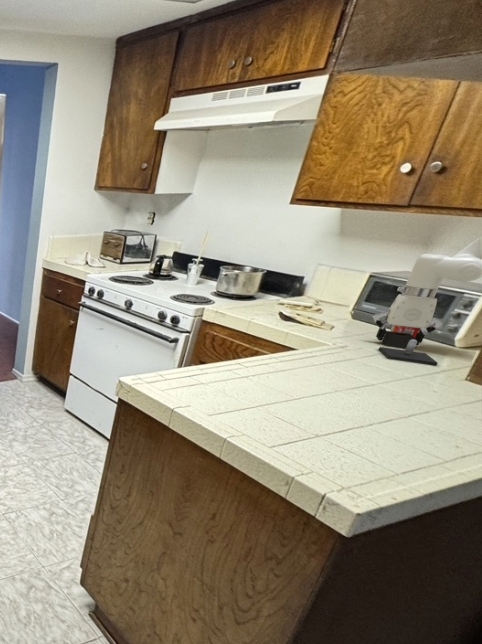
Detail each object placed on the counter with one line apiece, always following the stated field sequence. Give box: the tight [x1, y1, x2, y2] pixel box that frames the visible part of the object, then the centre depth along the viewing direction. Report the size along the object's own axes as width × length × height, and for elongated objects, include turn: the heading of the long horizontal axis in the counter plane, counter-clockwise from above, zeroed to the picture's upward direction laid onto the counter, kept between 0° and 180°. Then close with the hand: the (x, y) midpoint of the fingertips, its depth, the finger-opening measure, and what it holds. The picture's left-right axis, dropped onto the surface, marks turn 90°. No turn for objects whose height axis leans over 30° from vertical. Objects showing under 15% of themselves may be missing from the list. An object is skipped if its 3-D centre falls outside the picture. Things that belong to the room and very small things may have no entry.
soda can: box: [389, 325, 420, 337], centre depth 167 cm, size 7×7×12 cm
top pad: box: [381, 330, 415, 349], centre depth 162 cm, size 6×6×4 cm
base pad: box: [378, 339, 438, 366], centre depth 149 cm, size 11×11×6 cm
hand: (397, 341), depth 162 cm, fingers open, 8 cm apart
